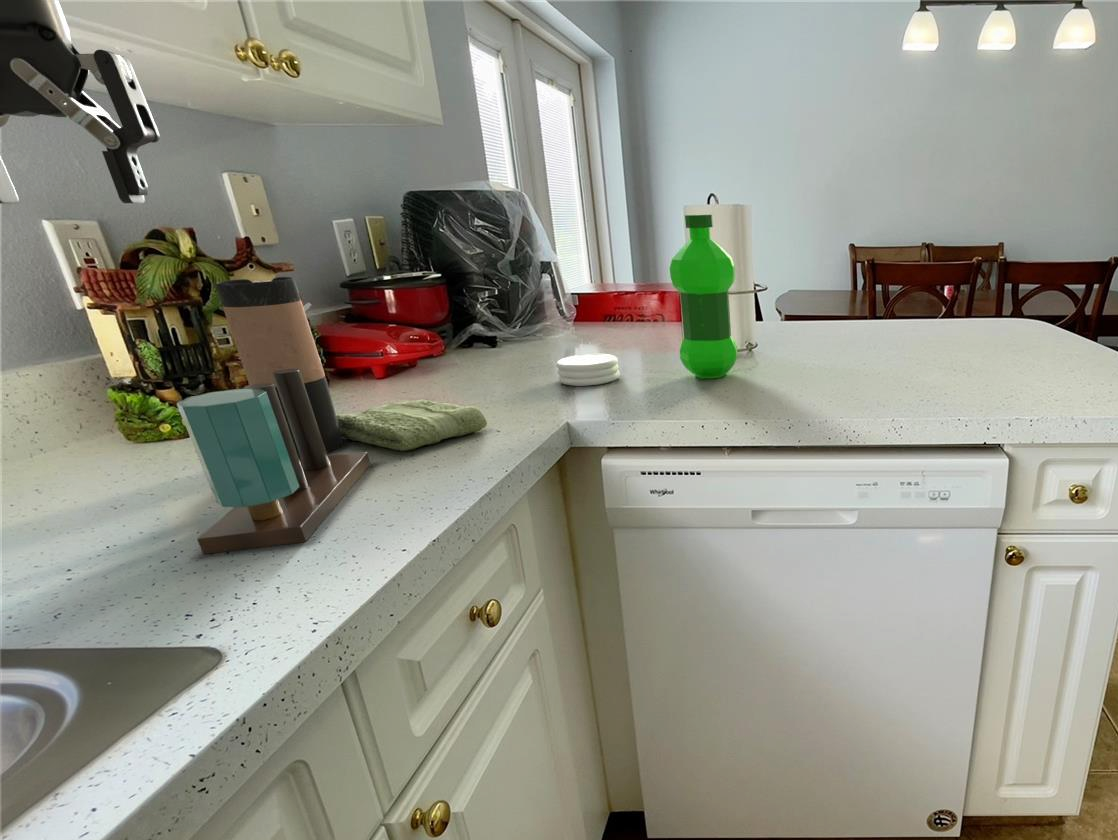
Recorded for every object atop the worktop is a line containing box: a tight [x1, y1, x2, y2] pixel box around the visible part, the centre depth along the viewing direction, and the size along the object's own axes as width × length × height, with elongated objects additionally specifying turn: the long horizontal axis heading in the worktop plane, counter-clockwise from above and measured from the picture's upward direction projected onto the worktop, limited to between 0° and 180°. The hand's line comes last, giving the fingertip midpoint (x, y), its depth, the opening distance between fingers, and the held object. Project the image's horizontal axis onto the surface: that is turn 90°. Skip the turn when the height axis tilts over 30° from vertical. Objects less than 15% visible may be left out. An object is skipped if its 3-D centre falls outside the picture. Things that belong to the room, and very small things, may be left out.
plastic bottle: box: [669, 214, 739, 379], centre depth 116 cm, size 10×10×25 cm
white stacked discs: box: [555, 353, 621, 387], centre depth 119 cm, size 10×10×4 cm
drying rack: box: [196, 369, 372, 555], centre depth 70 cm, size 8×22×12 cm, turn 15°
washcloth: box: [336, 399, 488, 452], centre depth 93 cm, size 13×18×3 cm
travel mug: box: [214, 276, 344, 458], centre depth 85 cm, size 8×8×20 cm
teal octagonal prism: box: [176, 388, 299, 508], centre depth 63 cm, size 6×6×9 cm
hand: (71, 203), depth 57 cm, fingers open, 8 cm apart
